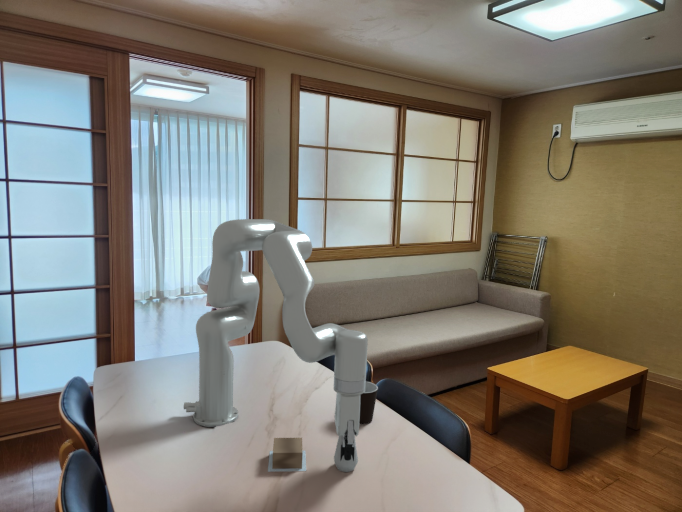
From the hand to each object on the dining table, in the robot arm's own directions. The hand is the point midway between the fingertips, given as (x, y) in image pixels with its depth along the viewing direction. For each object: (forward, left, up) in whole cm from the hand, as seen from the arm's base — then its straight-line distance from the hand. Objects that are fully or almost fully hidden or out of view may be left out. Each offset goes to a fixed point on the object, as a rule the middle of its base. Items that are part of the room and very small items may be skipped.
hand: (346, 456), depth 112 cm
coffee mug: (+8, +27, -3) cm, 28 cm away
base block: (-14, +3, -3) cm, 15 cm away
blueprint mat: (-14, +3, -3) cm, 15 cm away
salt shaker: (0, 0, -3) cm, 3 cm away
